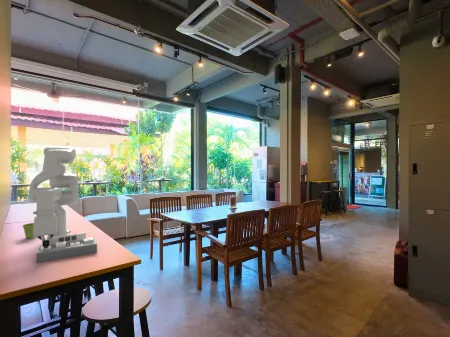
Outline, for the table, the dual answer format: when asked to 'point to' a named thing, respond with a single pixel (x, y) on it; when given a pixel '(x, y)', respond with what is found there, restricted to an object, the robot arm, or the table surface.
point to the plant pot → (28, 230)
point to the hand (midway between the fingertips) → (46, 247)
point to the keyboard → (66, 248)
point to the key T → (87, 240)
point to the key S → (61, 244)
